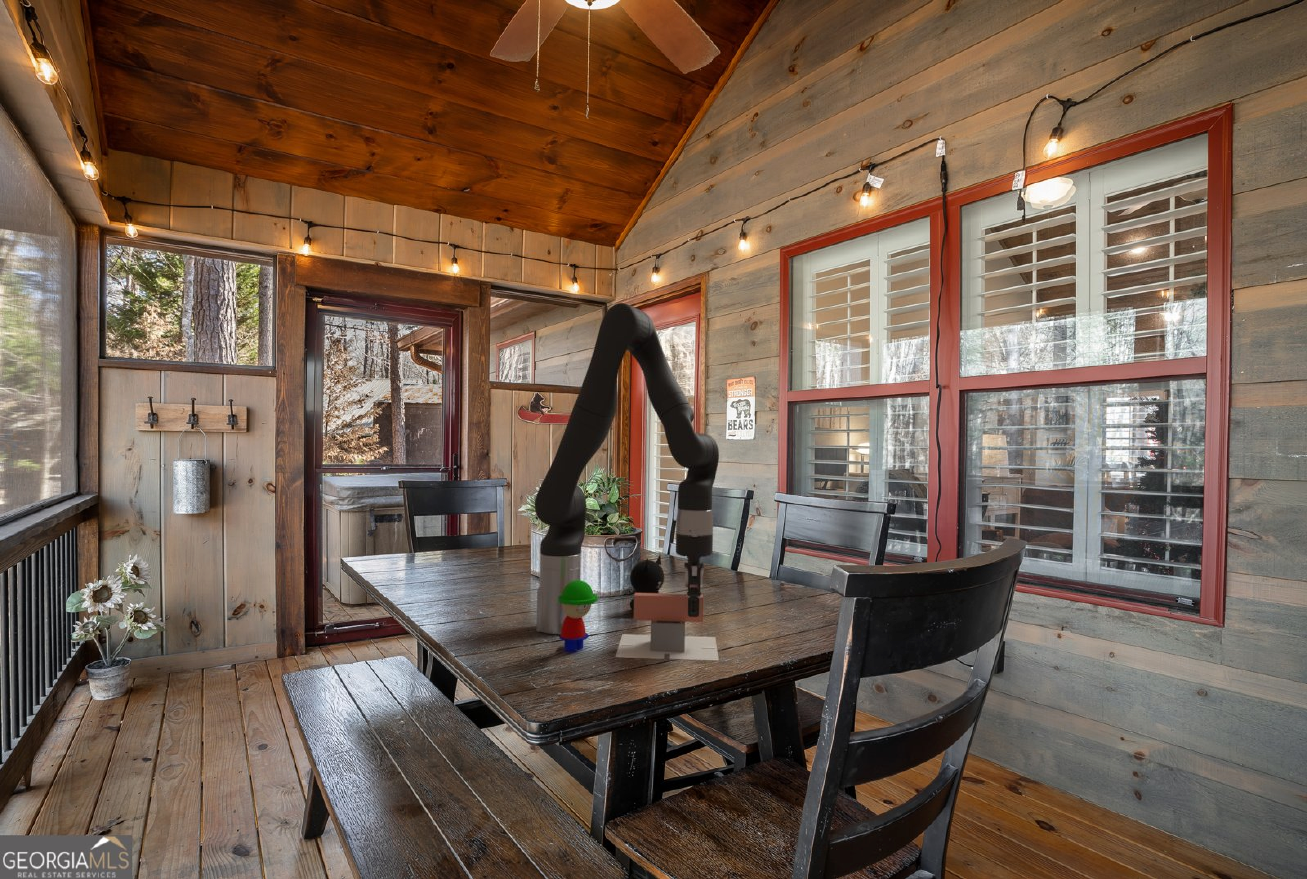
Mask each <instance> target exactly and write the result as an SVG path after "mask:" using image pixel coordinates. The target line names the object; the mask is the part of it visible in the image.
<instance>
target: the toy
mask: <svg viewBox="0 0 1307 879" xmlns="http://www.w3.org/2000/svg"><path fill="white" fill-rule="evenodd" d="M598 597H599V596H598V595H597V594H595V593H594V591H593V588H592V587H591V585H590V584H589V583H588V582H586V581H585V580H575V581H572V582H570V583H568V584H567V585H566V586H565V588H564V589H563V592H562V594H561V595H559V596H558V601H559V602H560V603H562V608H563V611H564V612H565V614H566V615H567V616H566V618H565V619H564V622H563V624H562V629H561V634H558V637H559V639H560V640H562V641H564V642H563V643H564V650H563V651H564V653H569V654H570V653H576V652H577V651H579V650H583V649H584V640H587V639H588V638H589V634H588V633H587V632H586V625H585V622H584V620H583V617H585V616H586V615H587V614H588V613H589V612H590V611H591V608H592V604H594V603H598V601H599V598H598Z"/></svg>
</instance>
